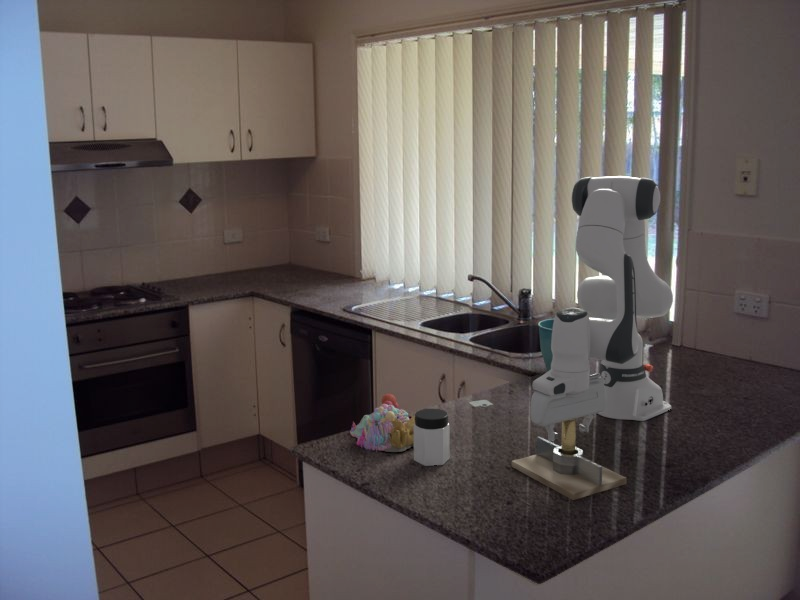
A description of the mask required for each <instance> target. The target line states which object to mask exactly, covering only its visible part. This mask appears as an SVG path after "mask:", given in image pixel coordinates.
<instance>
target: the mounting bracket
mask: <svg viewBox="0 0 800 600" xmlns="http://www.w3.org/2000/svg"><path fill="white" fill-rule="evenodd" d="M468 404H470V405H471V406H472V407H475V408H476V407H481V408H489V407H490V406H491V405H492V406H493V405H494V404H493V402H490V401H489V400H487V399H481V400H473V401H469V403H468Z"/></svg>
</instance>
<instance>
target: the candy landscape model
mask: <svg viewBox="0 0 800 600" xmlns="http://www.w3.org/2000/svg"><path fill="white" fill-rule="evenodd" d="M380 401H381V405H379V407H376V408H374V411H373V412H372V413H370V414H365V415H363V417H362V418H361V420H360V422H359V423H357V425H356V423H355V422H354V421H352V425H351V428H350V429H351V430H350V431H349V434H350V435H351V436H352V437H354V438H357V441H356V446H357V447H362V448H364V449H365V451H369V452H371V451H375V452H376V453H378V451H379V452H380V451H384V452H388V453H389V452H390V453H398V452H404V451H406V450H407V449H410V448H411V447H414V430H413V425H414V424H415V415H414V416H410V415H409V413H408V412H407V411H406V410H405V409H399V403H398V402H397V398H396V397H395V395H394V394H391V393H385V394H384V395H383V396H382V398H381V400H380Z"/></svg>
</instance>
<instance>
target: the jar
mask: <svg viewBox="0 0 800 600" xmlns="http://www.w3.org/2000/svg"><path fill="white" fill-rule="evenodd" d="M414 416H415V424H414V425H413V430H414V446H413V461H414V462H416V463H418V464H420V465H422V466H424V467H434V465H437V466H444V465H445V464H446V463H447V462H448V461H449V460H450V457H451V449H450V447H451V446H450V445H451V444H450V443H451V440H450V436H451V435H450V432H451V431H450V430H451V427H450V422H449V414H448V412H447V411H445V410H443V409H438V408H423V409H420V410H418V411H416V412H415V413H414Z"/></svg>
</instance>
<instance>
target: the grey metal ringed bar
mask: <svg viewBox="0 0 800 600" xmlns="http://www.w3.org/2000/svg"><path fill="white" fill-rule="evenodd" d="M536 454H537V455H539V456H541V457H543V458H545V459H547V460H549V461H551V462H553V470H554V471H556V472H557V473H559V474H564V475H575V474H576V475H578V476H580V477H582V478H584V479H586V480H588V481H590V482H592V483H594V484H596V485H598V486H601V485H602V465H601V466H600V464H599V463H596V462H594V461H592V460H590V459H588V458H586V457H584V451H583V449H581V448H579V447H577V446H575V454H574V455H564V454H561V445H558V444H556V443H555V442H553V441H550V440H549V439H546V438H544V437H541V436H537V437H536ZM583 457H584V458H583ZM598 464H599V465H598Z"/></svg>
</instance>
